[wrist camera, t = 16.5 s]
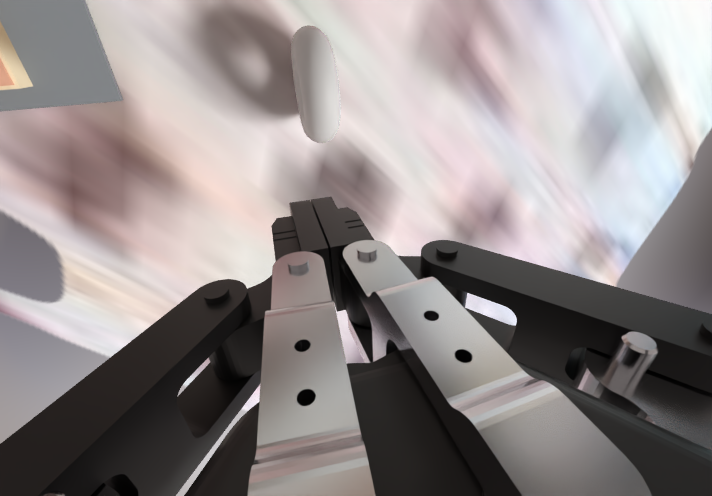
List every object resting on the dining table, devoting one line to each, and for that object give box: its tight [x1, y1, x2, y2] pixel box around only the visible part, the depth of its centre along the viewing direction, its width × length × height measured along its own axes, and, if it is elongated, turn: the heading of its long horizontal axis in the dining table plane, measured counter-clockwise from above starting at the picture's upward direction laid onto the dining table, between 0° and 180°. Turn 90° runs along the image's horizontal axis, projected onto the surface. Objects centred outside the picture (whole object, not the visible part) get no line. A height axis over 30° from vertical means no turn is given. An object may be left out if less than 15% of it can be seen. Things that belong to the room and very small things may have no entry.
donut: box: [291, 26, 341, 143], centre depth 32 cm, size 10×4×10 cm, turn 3°
